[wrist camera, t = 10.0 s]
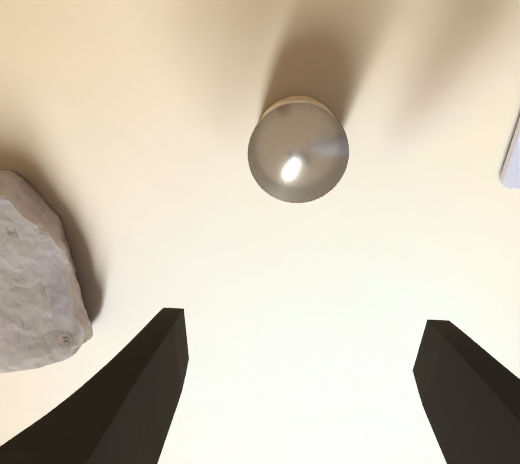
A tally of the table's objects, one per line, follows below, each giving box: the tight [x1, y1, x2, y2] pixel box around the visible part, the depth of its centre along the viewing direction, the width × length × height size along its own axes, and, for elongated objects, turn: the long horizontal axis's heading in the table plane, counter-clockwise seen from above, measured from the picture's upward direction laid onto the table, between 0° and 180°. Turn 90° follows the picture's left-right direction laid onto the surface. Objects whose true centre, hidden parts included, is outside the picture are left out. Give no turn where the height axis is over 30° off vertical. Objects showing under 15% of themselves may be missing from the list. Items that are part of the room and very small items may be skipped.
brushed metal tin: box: [248, 95, 349, 203], centre depth 16 cm, size 4×4×4 cm
